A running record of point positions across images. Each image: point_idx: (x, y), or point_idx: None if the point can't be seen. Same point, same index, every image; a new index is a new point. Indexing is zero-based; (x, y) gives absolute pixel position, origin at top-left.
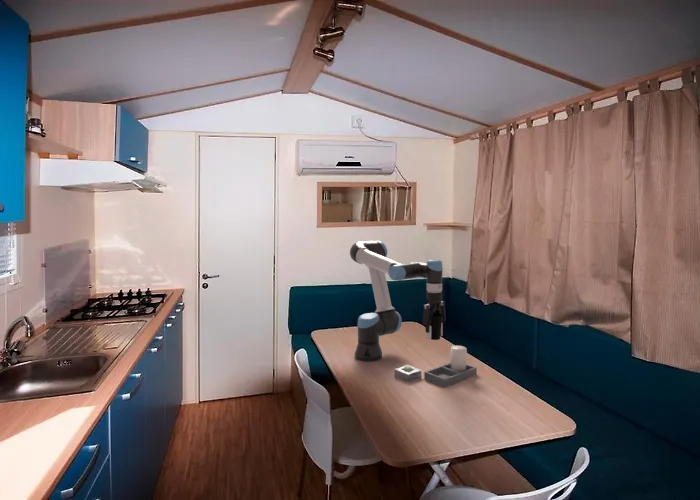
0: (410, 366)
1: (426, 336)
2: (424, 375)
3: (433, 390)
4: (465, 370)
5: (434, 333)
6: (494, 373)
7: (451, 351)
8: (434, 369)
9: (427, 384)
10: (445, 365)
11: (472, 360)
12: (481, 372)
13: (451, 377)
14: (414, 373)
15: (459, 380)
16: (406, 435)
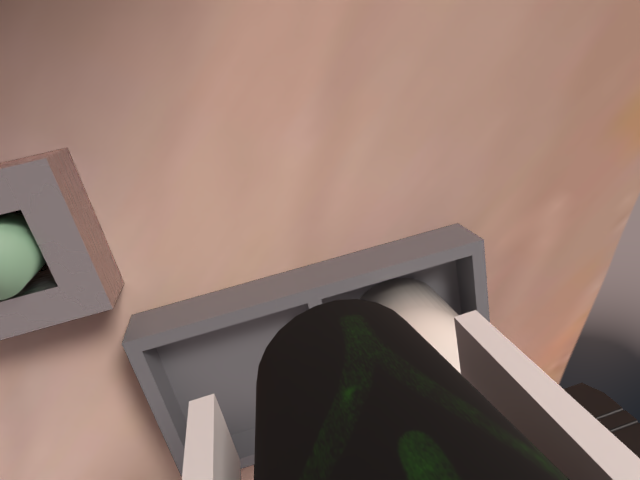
0: (54, 206)
1: (189, 431)
2: (127, 328)
3: (99, 465)
4: None
5: None
6: (559, 371)
7: None
8: (226, 325)
9: (106, 391)
10: (350, 290)
11: (636, 162)
12: (517, 340)
13: (250, 464)
14: (32, 327)
15: None
16: None
